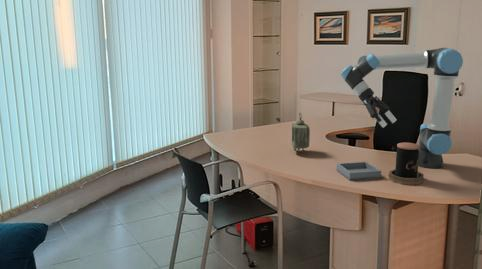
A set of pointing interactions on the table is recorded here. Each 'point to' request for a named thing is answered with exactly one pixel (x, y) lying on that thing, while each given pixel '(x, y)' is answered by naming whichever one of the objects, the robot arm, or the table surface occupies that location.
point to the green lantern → (300, 135)
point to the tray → (358, 171)
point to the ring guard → (406, 180)
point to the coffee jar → (407, 160)
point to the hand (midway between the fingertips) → (390, 123)
